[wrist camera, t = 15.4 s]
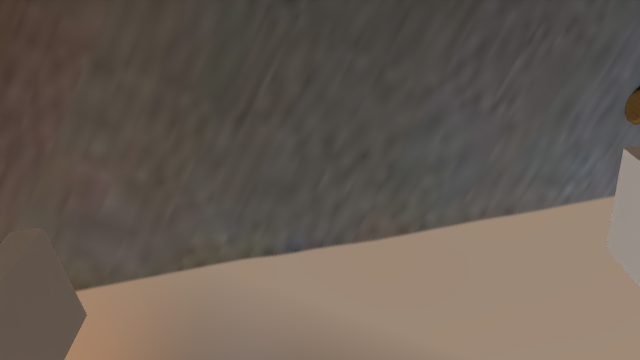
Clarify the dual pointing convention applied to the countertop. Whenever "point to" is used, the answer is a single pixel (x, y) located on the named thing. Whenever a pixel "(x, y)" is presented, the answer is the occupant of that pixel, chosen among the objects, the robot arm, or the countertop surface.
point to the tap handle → (633, 108)
